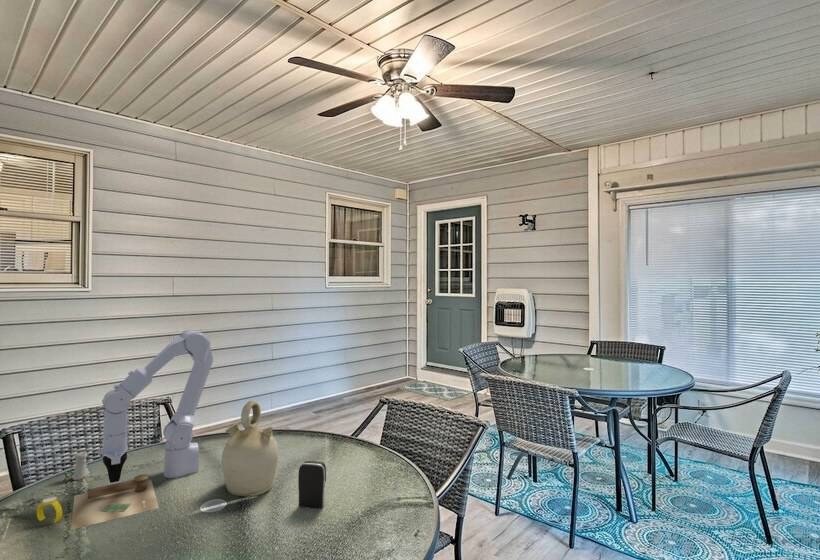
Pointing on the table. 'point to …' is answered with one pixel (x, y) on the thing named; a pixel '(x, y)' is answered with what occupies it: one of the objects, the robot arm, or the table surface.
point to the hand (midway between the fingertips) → (114, 481)
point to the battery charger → (312, 484)
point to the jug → (249, 456)
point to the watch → (54, 503)
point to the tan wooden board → (112, 506)
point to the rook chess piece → (80, 466)
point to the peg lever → (120, 487)
